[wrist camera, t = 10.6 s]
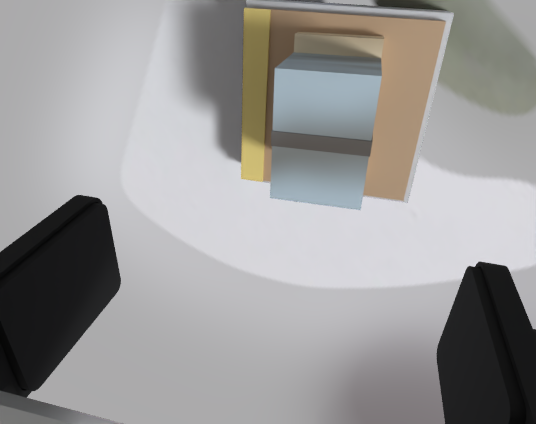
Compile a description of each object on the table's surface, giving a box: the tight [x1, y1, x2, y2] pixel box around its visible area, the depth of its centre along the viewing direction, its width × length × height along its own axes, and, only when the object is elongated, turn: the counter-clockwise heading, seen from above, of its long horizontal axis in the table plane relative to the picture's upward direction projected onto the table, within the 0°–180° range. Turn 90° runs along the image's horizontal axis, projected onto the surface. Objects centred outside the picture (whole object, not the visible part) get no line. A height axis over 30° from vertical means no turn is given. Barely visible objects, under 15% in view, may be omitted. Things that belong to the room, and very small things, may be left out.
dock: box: [241, 0, 454, 203], centre depth 28 cm, size 12×12×3 cm
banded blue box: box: [270, 32, 384, 210], centre depth 24 cm, size 9×5×6 cm, turn 178°
